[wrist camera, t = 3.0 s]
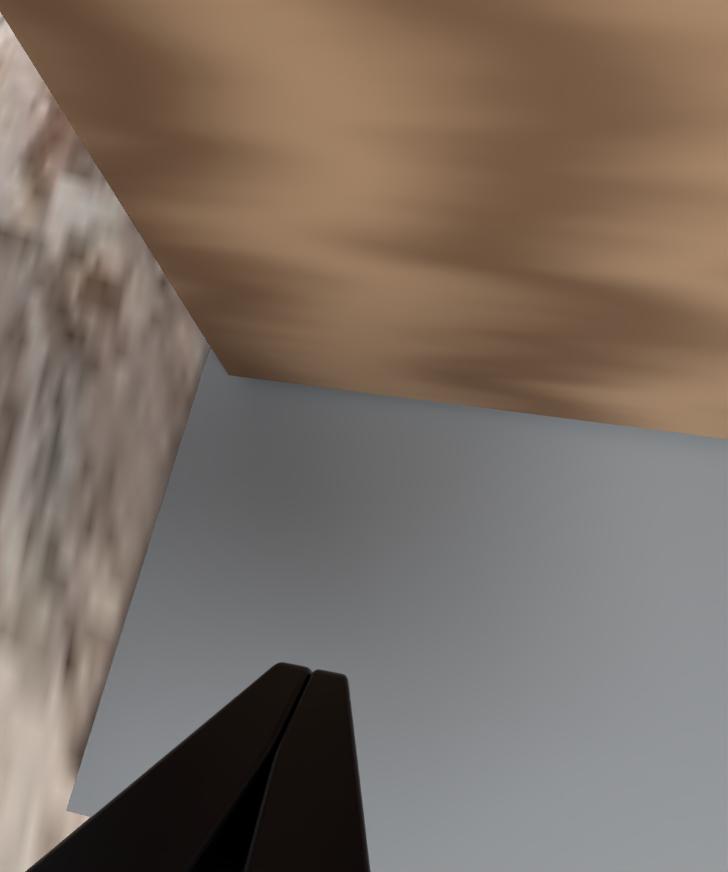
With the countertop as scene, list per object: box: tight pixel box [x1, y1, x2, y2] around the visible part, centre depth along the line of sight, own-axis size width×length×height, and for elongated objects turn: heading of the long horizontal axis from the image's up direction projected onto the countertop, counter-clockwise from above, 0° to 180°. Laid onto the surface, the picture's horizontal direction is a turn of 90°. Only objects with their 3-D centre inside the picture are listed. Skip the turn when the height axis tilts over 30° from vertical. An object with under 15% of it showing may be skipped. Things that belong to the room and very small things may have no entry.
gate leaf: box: [0, 0, 728, 439], centre depth 12 cm, size 15×2×13 cm, turn 79°
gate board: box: [66, 346, 728, 872], centre depth 17 cm, size 26×18×1 cm
